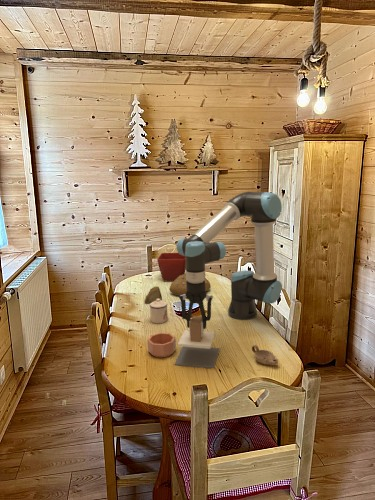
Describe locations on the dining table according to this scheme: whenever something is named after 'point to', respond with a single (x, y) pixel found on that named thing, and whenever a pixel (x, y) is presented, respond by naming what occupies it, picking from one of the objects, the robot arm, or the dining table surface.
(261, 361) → the oil lamp
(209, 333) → the lid
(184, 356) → the mat
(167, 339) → the bowl
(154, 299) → the rock
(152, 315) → the teacup with lid
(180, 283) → the bread
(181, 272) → the plant pot
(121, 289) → the dining table surface
